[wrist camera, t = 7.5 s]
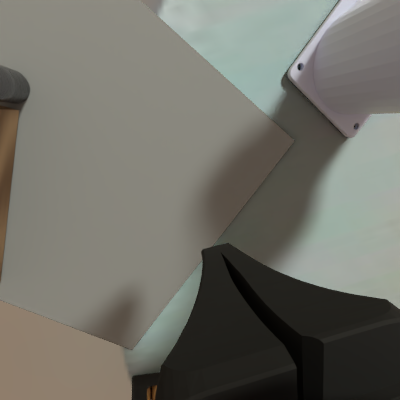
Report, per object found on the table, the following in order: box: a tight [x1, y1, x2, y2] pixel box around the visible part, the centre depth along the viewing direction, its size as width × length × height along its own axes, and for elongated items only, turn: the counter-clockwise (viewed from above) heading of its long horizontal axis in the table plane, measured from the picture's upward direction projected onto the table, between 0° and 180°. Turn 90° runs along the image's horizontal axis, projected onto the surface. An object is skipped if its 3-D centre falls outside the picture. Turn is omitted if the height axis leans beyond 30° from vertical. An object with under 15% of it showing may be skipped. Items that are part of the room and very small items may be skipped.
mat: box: [0, 0, 295, 350], centre depth 18 cm, size 24×22×1 cm
